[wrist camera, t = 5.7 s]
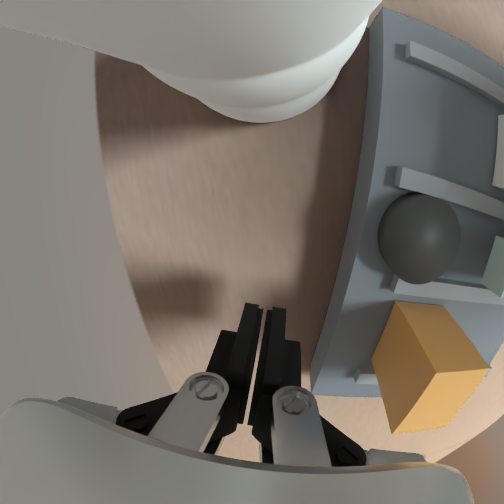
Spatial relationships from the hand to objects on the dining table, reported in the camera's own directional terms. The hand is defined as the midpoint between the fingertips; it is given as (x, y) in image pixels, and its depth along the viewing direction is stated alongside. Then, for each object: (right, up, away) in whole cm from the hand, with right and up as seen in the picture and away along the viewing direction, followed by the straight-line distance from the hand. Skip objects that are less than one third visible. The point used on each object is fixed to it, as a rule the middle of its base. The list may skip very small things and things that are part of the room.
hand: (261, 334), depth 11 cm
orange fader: (+8, -1, +1) cm, 7 cm away
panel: (+11, +5, +1) cm, 12 cm away
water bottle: (0, +13, -1) cm, 13 cm away
